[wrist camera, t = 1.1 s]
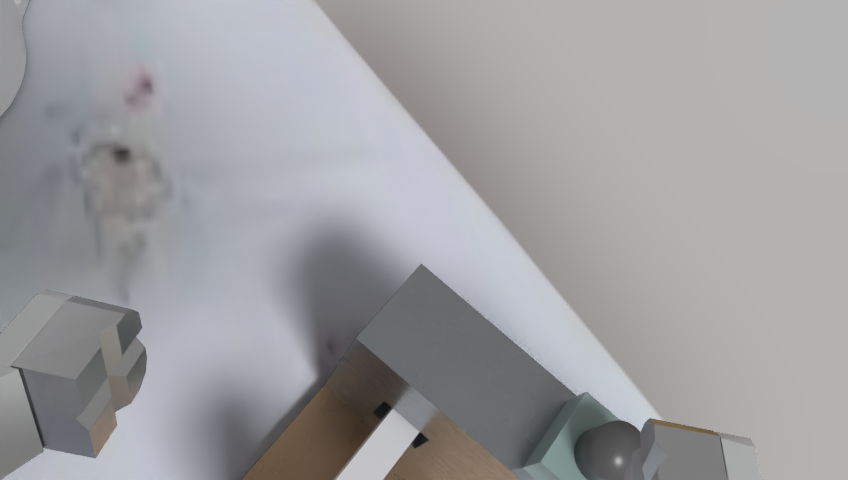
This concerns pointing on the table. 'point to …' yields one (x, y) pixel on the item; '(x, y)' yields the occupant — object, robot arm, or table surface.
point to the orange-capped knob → (380, 449)
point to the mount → (425, 396)
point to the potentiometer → (584, 444)
